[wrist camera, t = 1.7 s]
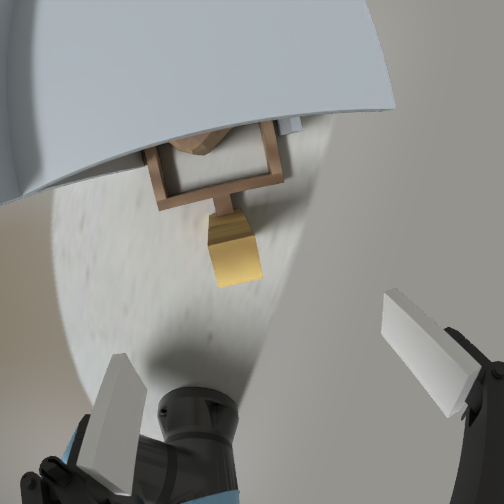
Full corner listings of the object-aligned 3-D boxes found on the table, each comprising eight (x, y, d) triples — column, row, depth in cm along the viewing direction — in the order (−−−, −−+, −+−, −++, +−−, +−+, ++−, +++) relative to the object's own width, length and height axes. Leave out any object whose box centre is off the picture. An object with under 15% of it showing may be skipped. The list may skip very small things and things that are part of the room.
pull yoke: (288, 229, 36) (321, 263, 25) (175, 255, 35) (160, 301, 24) (249, 37, 27) (267, -9, 16) (132, 63, 26) (99, 27, 15)
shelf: (287, 134, 32) (448, 107, 8) (136, 168, 31) (-18, 213, 7) (268, 48, 28) (364, -87, 4) (119, 81, 27) (-15, -7, 3)
